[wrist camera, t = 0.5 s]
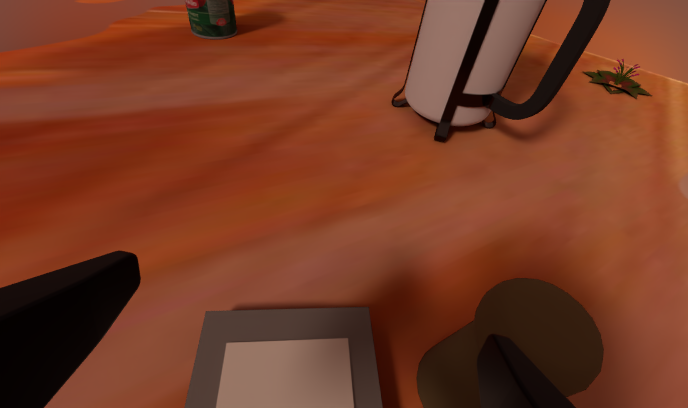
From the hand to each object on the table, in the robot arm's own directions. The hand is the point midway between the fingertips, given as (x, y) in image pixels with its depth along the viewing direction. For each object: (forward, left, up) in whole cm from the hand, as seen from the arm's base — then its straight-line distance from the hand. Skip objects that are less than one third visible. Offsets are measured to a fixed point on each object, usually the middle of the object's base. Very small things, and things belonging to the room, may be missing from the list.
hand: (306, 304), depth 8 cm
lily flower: (+51, -60, -16) cm, 80 cm away
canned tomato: (+61, +16, -16) cm, 65 cm away
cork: (+1, -11, -16) cm, 19 cm away
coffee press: (+35, -21, -16) cm, 44 cm away
